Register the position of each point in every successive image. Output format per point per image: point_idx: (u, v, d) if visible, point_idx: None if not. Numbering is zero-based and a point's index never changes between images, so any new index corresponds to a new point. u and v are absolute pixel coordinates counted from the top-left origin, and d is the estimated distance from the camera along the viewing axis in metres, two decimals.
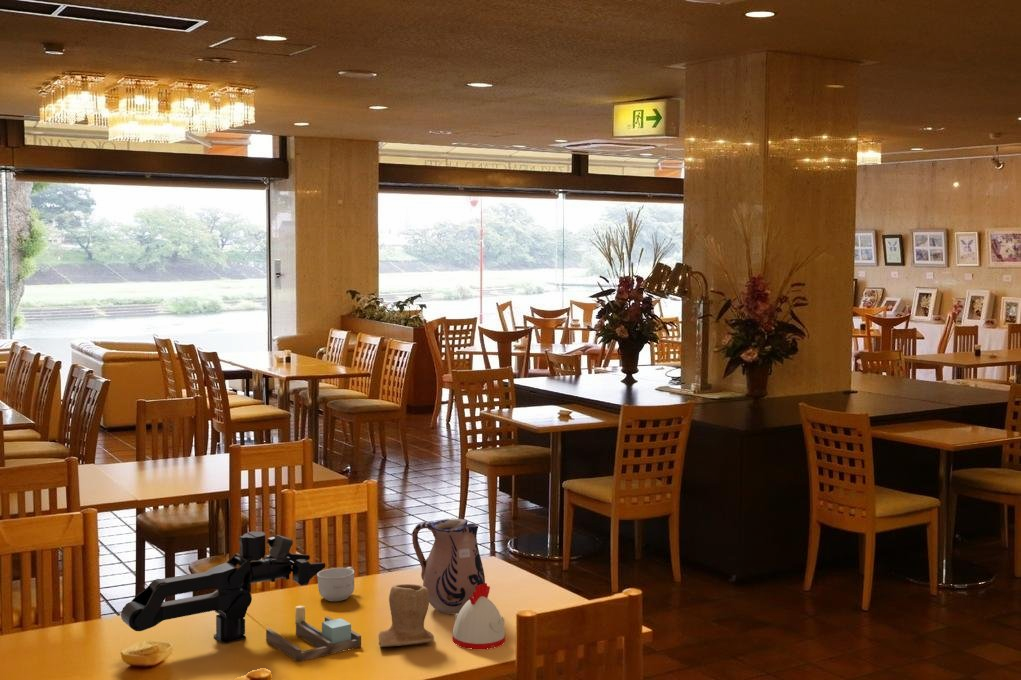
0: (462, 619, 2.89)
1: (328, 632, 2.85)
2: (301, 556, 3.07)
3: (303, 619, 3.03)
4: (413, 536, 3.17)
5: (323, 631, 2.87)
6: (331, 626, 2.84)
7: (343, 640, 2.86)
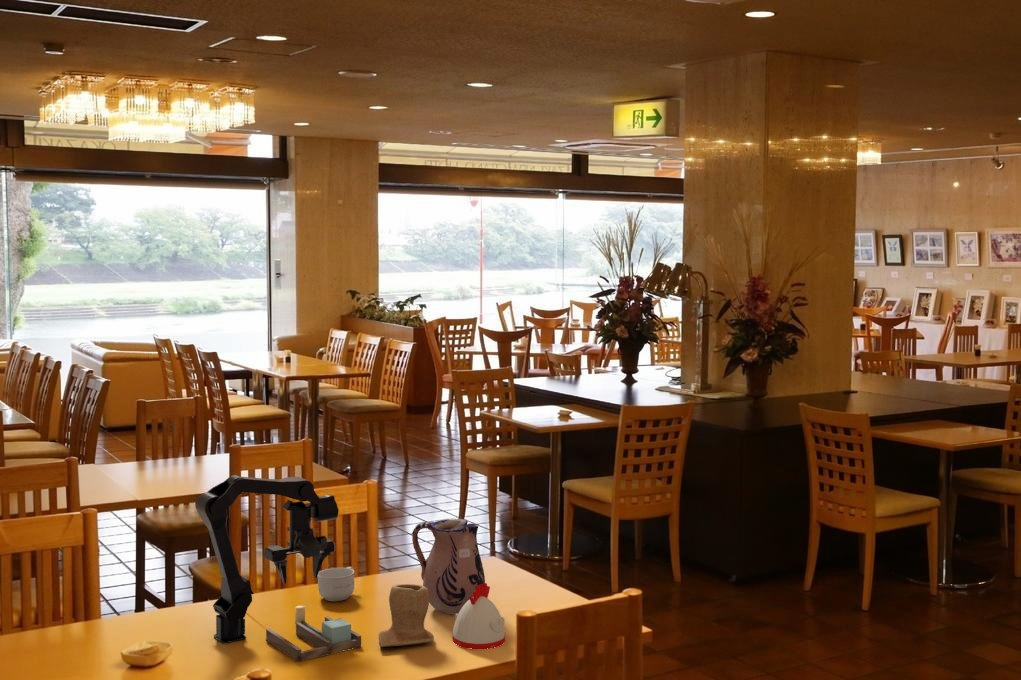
0: (462, 619, 2.89)
1: (328, 632, 2.85)
2: (316, 569, 3.05)
3: (303, 619, 3.03)
4: (413, 536, 3.17)
5: (323, 631, 2.87)
6: (331, 626, 2.84)
7: (343, 640, 2.86)
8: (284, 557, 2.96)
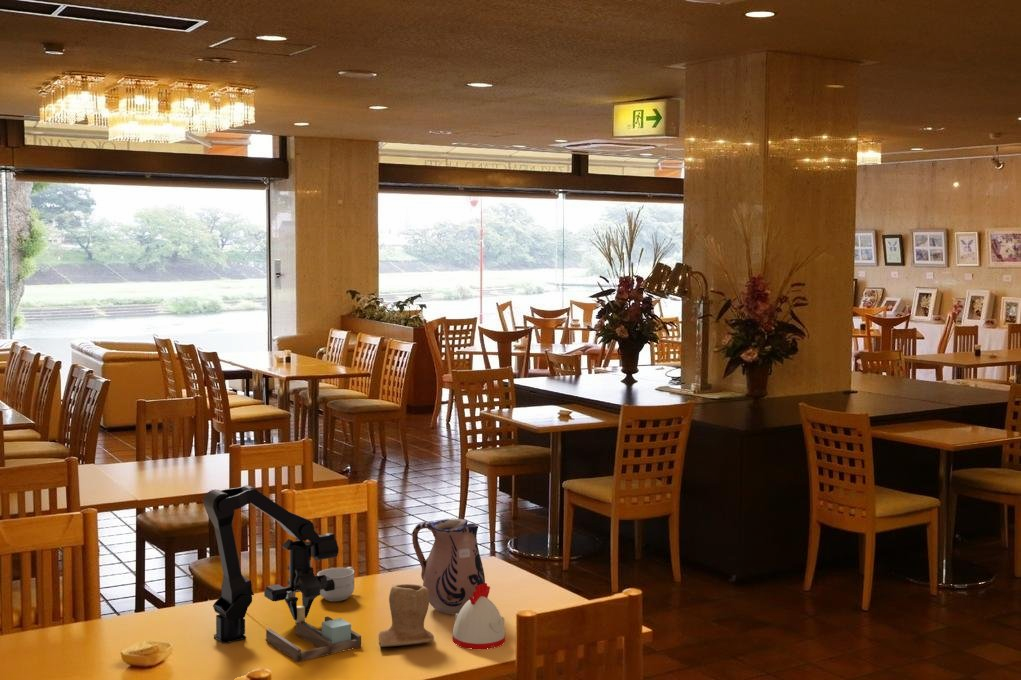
0: (462, 619, 2.89)
1: (328, 632, 2.85)
2: (305, 609, 3.04)
3: (303, 619, 3.03)
4: (413, 536, 3.17)
5: (323, 631, 2.87)
6: (331, 626, 2.84)
7: (343, 640, 2.86)
8: (284, 596, 2.97)
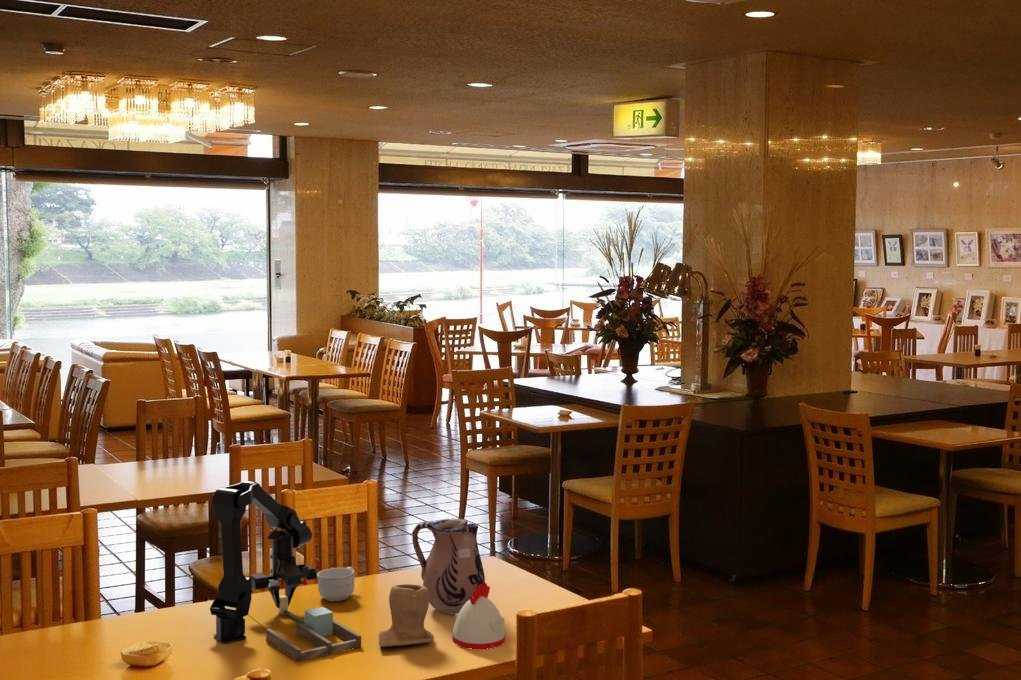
0: (462, 619, 2.89)
1: (311, 620, 2.93)
2: (288, 597, 3.13)
3: (286, 608, 3.11)
4: (413, 536, 3.17)
5: (306, 619, 2.96)
6: (314, 614, 2.93)
7: (325, 628, 2.94)
8: (267, 585, 3.06)
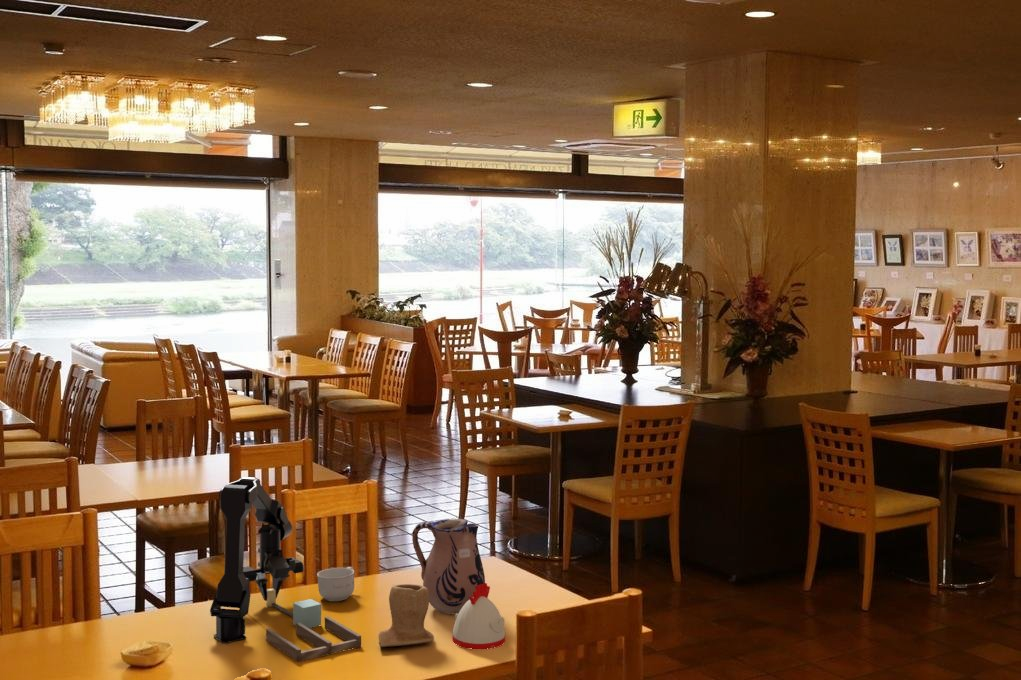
0: (462, 619, 2.89)
1: (300, 612, 3.00)
2: None
3: (274, 601, 3.17)
4: (413, 536, 3.17)
5: (294, 611, 3.02)
6: (303, 606, 2.99)
7: (314, 619, 3.01)
8: (254, 578, 3.12)
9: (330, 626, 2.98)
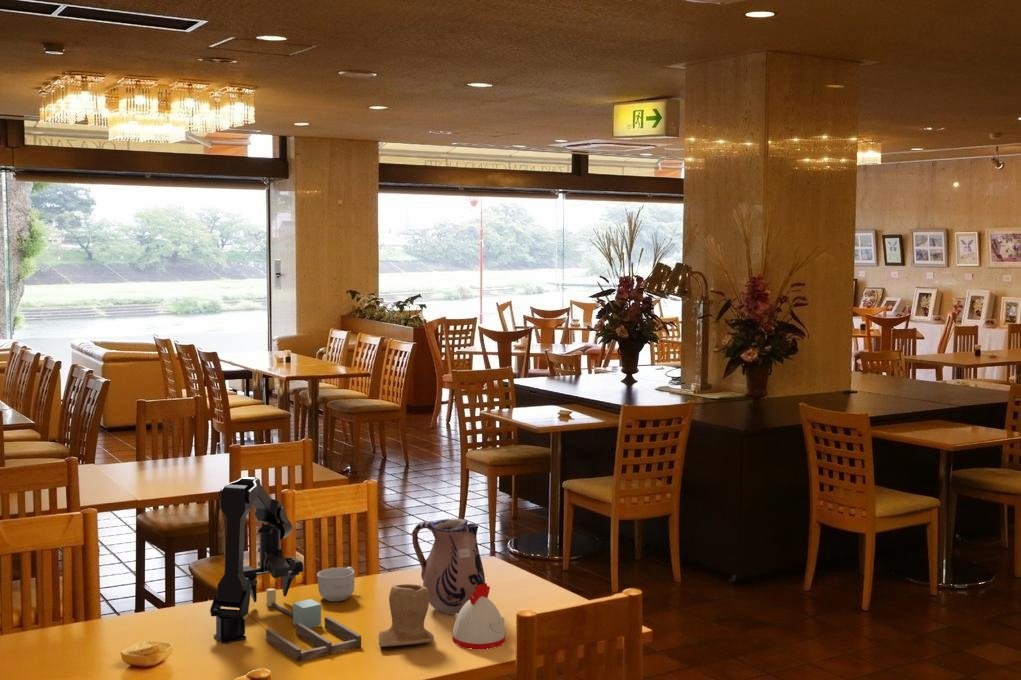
0: (462, 619, 2.89)
1: (299, 612, 3.00)
2: (285, 588, 3.21)
3: (274, 601, 3.17)
4: (413, 536, 3.17)
5: (294, 611, 3.02)
6: (303, 606, 2.99)
7: (314, 619, 3.01)
8: (254, 577, 3.12)
9: (330, 626, 2.98)
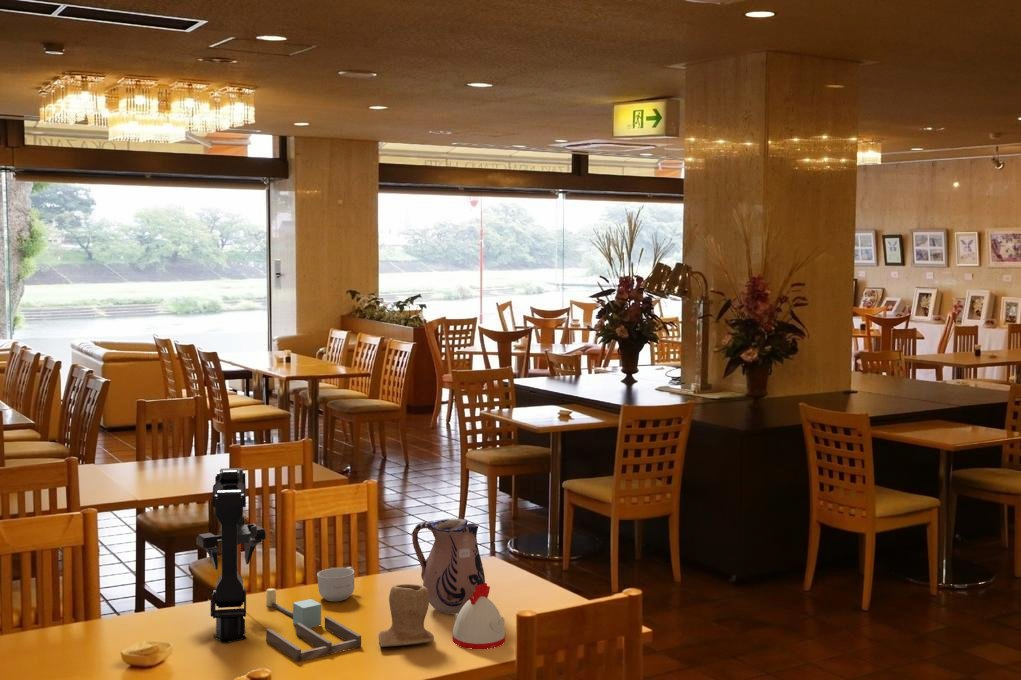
0: (462, 619, 2.89)
1: (299, 612, 3.00)
2: (247, 556, 3.16)
3: (274, 601, 3.17)
4: (413, 536, 3.17)
5: (294, 611, 3.02)
6: (303, 606, 2.99)
7: (314, 619, 3.01)
8: (215, 544, 3.07)
9: (330, 626, 2.98)
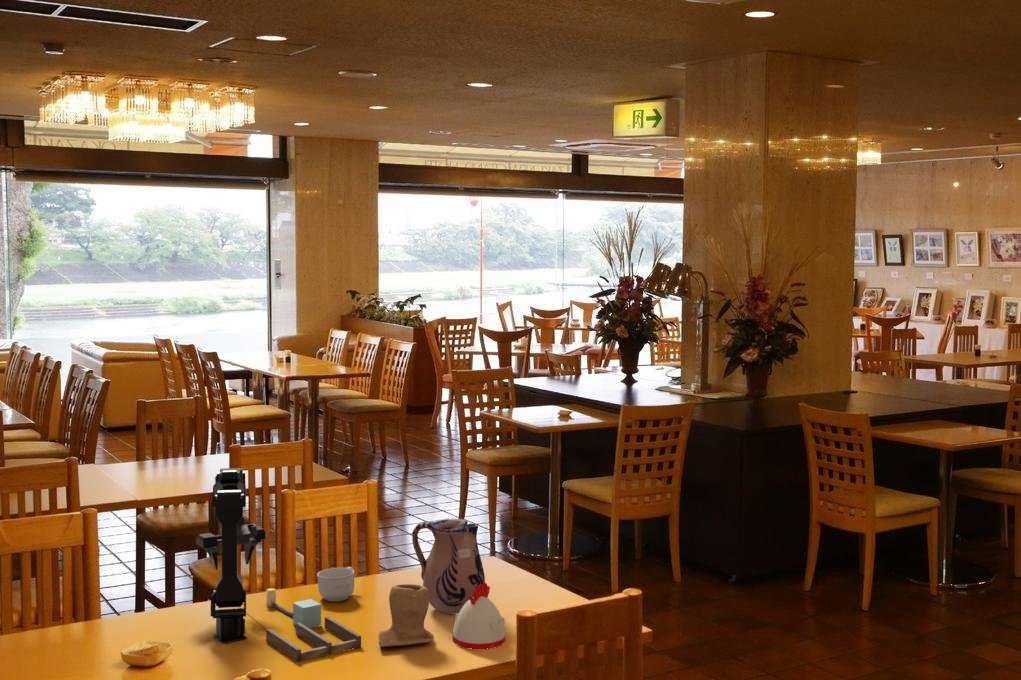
0: (462, 619, 2.89)
1: (299, 612, 3.00)
2: (247, 556, 3.16)
3: (274, 601, 3.17)
4: (413, 536, 3.17)
5: (294, 611, 3.02)
6: (303, 606, 2.99)
7: (314, 619, 3.01)
8: (215, 544, 3.07)
9: (330, 626, 2.98)
